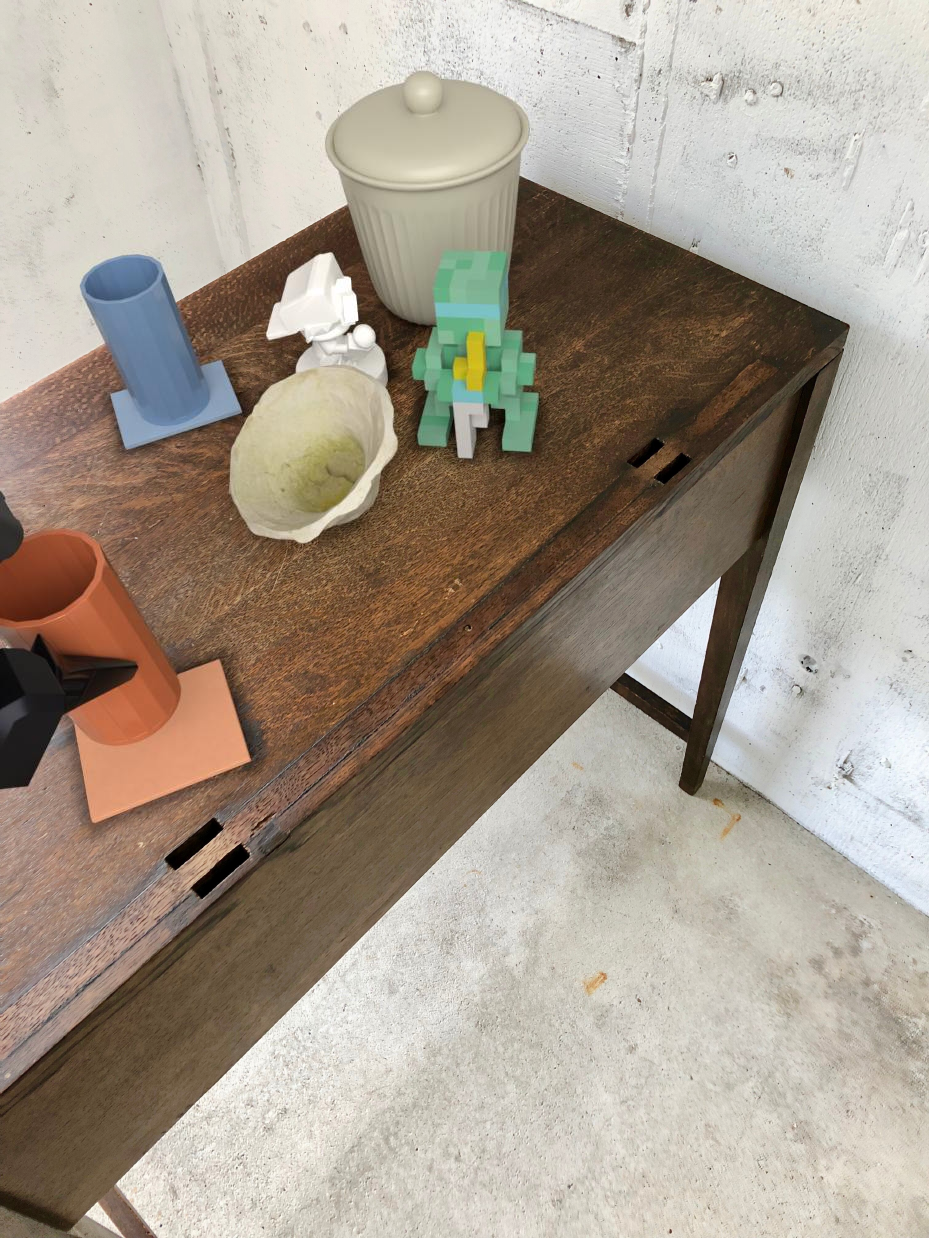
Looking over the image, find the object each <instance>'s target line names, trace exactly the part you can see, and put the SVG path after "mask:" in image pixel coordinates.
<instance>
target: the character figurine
mask: <svg viewBox="0 0 929 1238" xmlns="http://www.w3.org/2000/svg"><path fill="white" fill-rule="evenodd" d="M335 257H336V256H335V255H334V253H333V252H331V251H330V252H325V253H319V254H317V255H315V256H314V257H313V258H311V259H310V260H308V261H307V262H305V263H304V264H302V265H300V266H299V267H298V268H296V269H295V270H293V271H292V272H290V273H289V275H287V278H286V281H285V285H284V289H283V292H282V296H281V300H280V301H279V302H275V304H274V305H273V308H272V312H271V314H270V318H269V322H268V325H267V330H266V334H265V336H266V338H267V340H268V341H272V340H277V339H280V338H284V337H287V336H291V335H295V334H297V333H298V332H300V333H301V335H302V336H303V337H304V338H305V342H306V344H310V343H311V344H312V345H311V346H310V347H308V348H307V349H306V350H305V351H304V352H303V353H302V355H301V356H299V358H298V361H297V363H296V366H295V374H296V373H298V372H302V371H305V370H307V369H311V368H316V367H321V366H327V365H350V366H353V367H356V368H357V369H359V370H361V371H363V372H365V373H366V374H368V375H371V376H372V377H374V378H375V379H377V380H378V382H379V383H381V384H382V385H383V386H384V387H385V388H386V389H387V385H388V382H389V375H388V368H387V362H386V357H385V354H384V352H383V349H382V348H381V347H380V346H379V345H378V344H377V343H376V340H377V339H376V338H377V337H376V332H375V330H374V329H373V328H372V327H371V326H370V325H369V324H365V323H361V324H358V325H356V322H358V321H359V313H358V303H357V295H356V293H355V291H353V289H352V280H351V279H352V278H351V277H350V276H345V275H344V274H343V271H342V270H341V268H340V265H339V263H338V261H337V259H336V258H335ZM352 325H356V326H355V327H354V329H353V331H352V332H347V331H348V330H349V329H350V328H351V326H352ZM346 332H347V333H346ZM345 333H346V334H345Z"/></svg>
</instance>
